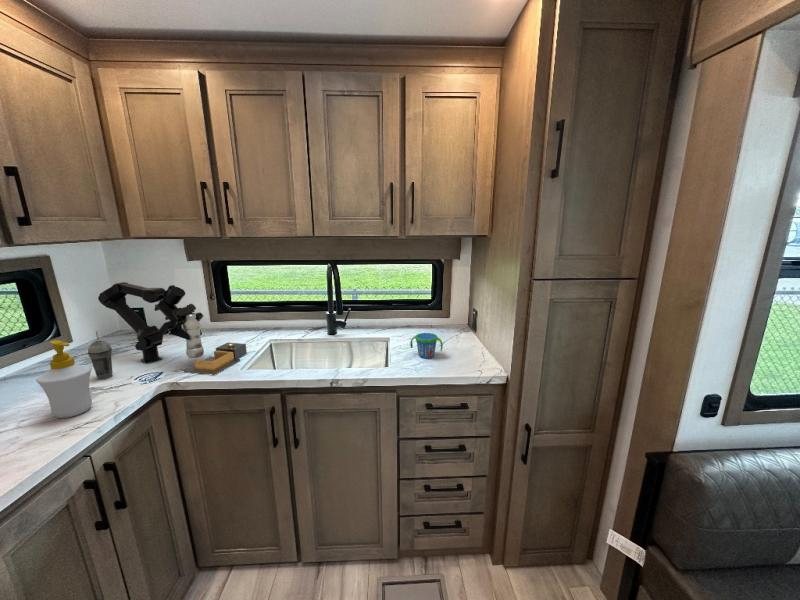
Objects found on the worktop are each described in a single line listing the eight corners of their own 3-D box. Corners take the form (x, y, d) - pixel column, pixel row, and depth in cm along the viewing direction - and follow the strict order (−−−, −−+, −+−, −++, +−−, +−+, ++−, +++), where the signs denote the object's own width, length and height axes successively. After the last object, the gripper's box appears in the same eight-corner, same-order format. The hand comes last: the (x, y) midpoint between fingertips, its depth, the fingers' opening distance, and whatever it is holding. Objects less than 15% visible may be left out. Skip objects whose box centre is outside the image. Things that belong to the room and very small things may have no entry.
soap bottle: (59, 426, 100) (40, 351, 95) (37, 417, 105) (18, 345, 100) (107, 406, 112) (93, 337, 107) (86, 399, 117) (71, 333, 111)
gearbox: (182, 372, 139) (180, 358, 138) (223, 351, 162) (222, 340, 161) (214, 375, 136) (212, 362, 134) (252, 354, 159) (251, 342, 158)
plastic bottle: (205, 358, 145) (200, 314, 141) (187, 361, 141) (181, 316, 137) (203, 353, 150) (198, 311, 146) (186, 356, 146) (180, 313, 142)
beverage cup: (114, 371, 139) (106, 326, 135) (118, 376, 134) (109, 330, 130) (91, 377, 133) (81, 331, 129) (95, 383, 129) (85, 334, 125)
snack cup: (406, 357, 156) (407, 336, 154) (415, 350, 165) (415, 330, 163) (438, 362, 150) (438, 341, 148) (444, 355, 159) (445, 335, 157)
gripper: (160, 304, 132) (187, 332, 132) (197, 295, 150) (221, 319, 150) (147, 321, 135) (173, 348, 135) (185, 310, 153) (208, 334, 153)
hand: (195, 337), depth 143 cm, fingers closed on plastic bottle, 6 cm apart
